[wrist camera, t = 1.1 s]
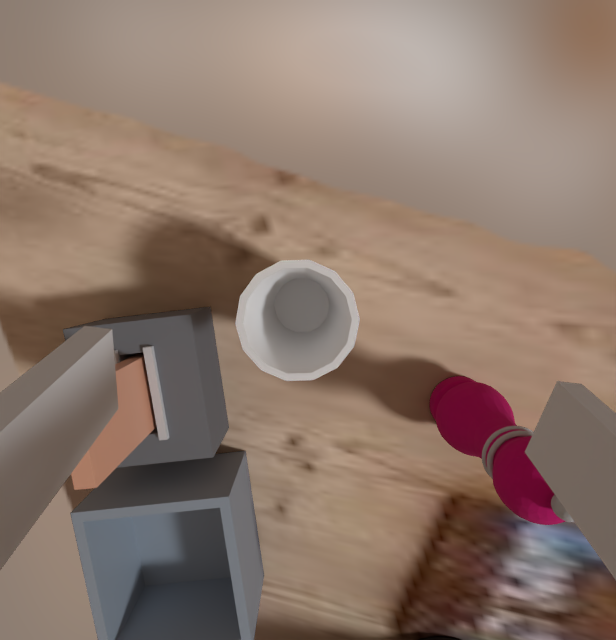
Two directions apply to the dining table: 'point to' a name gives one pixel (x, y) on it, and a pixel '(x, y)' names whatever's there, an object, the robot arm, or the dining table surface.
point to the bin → (172, 551)
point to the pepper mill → (495, 446)
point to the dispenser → (174, 381)
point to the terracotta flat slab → (120, 425)
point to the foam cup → (297, 320)
